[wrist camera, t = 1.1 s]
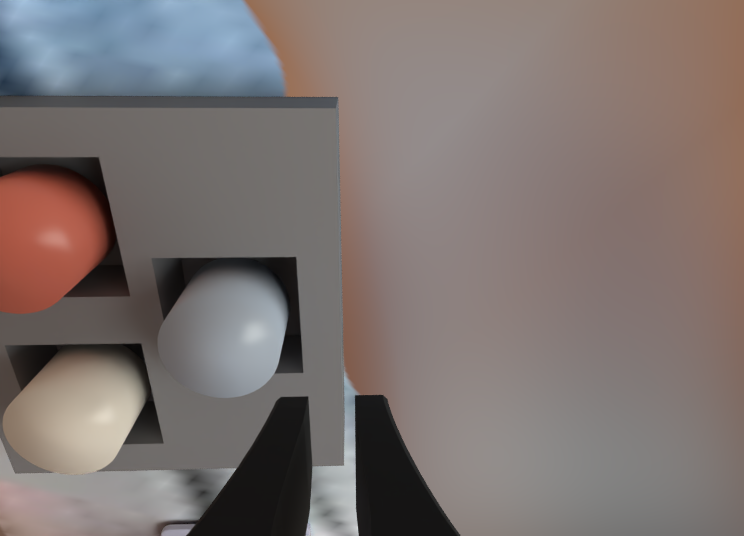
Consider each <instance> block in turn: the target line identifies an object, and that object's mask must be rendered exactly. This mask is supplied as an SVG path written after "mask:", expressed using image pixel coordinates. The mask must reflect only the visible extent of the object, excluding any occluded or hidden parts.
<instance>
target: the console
mask: <svg viewBox="0 0 744 536" xmlns="http://www.w3.org/2000/svg"><path fill="white" fill-rule="evenodd" d="M35 164H52V165H57V166H61V167H65V168H68V169H70V170H73V171H75V172H77V173H79V174H80V175H82V176H84V177H85V178H87V179H88V180H90V181H91V182H92V183H93V184H94V185H95V186H96V187H97V188H98V189H99V190H100V191H101V192H102V193H103V194H104V196H105V197H106V198H107V200H108V202H109V204H110V208H111V213H112V217H113V222H114V226H115V230H116V235H117V236H116V241H115V244H114V246H113V248H112V250H111V252H110V253H109V255H108V256H107V257H106V258H105V259H104V260H103V261H102V262H101V263H99V264H98V265H97V266H96V267H95V268H94V269H93V270H92V271H91V272H90V273H88V274H87V275H86V276H85V277H84V278H83V279H82V280H81V281H80V282H79V283H78V284H76V285H75V286H74V287H73V288H72V289H71V290H70V291H69V292H68V293H67V294H65V295H64V296H63V297H62V298H61V299H60V300H59V301H58V302H57V303H55V304H54V305H52V306H51V307H49V308H47V309H44V310H41V311H38V312H34V313H26V314H13V313H6V312H1V311H0V438H1V440H2V442H3V445H4V447H5V450H6V452H7V455H8V457H9V460H10V462H11V464H12V467H13V469H14V472H15V473H55V472H51V471H48V470H45V469H42V468H40V467H38V466H36V465H34V464H32V463H30V462H29V461H27V460H25V459H24V458H23V457H21V456H20V455H19V454H18V453H17V452H16V451H15V450H14V449H13V448H12V447H11V445H10V444H9V442H8V441H7V439H6V437H5V434H4V431H3V425H2V424H3V416H4V413H5V411H6V409H7V407H8V406H9V404H10V403H11V402H12V401H13V400H14V399H15V398H16V397H17V396H18V395H19V394H20V392H21V391H22V390H23V389H24V388H25V387H26V386H27V385H28V384H29V383H30V382H31V381H32V379H33V378H34V377H35V376H36V375H37V374H38V373H39V372H40V371H41V370H42V369H43V367H44V366H45V365H46V364H47V363H48V362H49V361H50V360H51V359H52V358H53V357H54V356H55V354H56V353H57V352H58V351H59V350H60V349H61V348H62V347H64V346H65V345H67V344H121V345H123V346H125V347H127V348H129V349H130V350H132V351H133V352H134V353H136V354H137V355H138V356H139V357H140V358H141V359H142V360H143V362H144V363H145V365H146V367H147V371H148V376H149V380H150V385H151V393H150V396H149V398H148V400H147V401H146V403H145V405H144V407H143V409H142V410H141V412H140V414H139V416H138V418H137V419H136V421H135V423H134V425H133V427H132V428H131V430H130V432H129V434H128V436H127V437H126V439H125V441H124V443H123V445H122V446H121V448H120V450H119V452H118V454H117V455H116V457H115V458H114V460H113V461H112V462H111V463H110V464H108V465H107V466H106V467H104V468H102V469H100V470H98V471H137V470H178V469H219V468H237V467H238V466H239V464H240V463H241V461H242V460H243V458H244V457H245V455H246V454H247V452H248V450H249V449H250V447H251V446H252V444H253V443H254V441H255V439H256V438H257V436H258V434H259V433H260V431H261V429H262V427H263V426H264V424H265V422H266V420H267V418H268V416H269V415H270V413H271V411H272V409H273V407H274V405H275V402H276V401H277V400H278V399H279V398H280V397H300V396H308V398H309V415H310V432H311V450H312V466H342V465H344V419H345V416H344V366H343V315H342V265H341V217H340V216H341V215H340V164H339V113H338V97H176V96H0V177H2V176H4V175H7V174H9V173H11V172H14V171H16V170H19V169H21V168H24V167H27V166H30V165H35ZM230 257H243V258H248V259H252V260H255V261H257V262H260V263H262V264H263V265H265V266H267V267H268V268H270V269H271V270H272V271H274V272H275V273H276V274H277V275H278V276H279V278H280V279H281V280H282V282H283V283H284V285H285V287H286V289H287V291H288V294H289V298H290V313H289V318H288V322H287V327H286V331H285V336H284V340H283V345H282V349H281V354H280V359H279V363H278V366H277V369H276V371H275V373H274V374H273V376H272V377H271V379H270V380H269V381H268V382H267V383H266V384H265V385H263V386H262V387H261V388H259V389H258V390H256V391H254V392H252V393H249V394H247V395H243V396H239V397H233V398H217V397H210V396H206V395H202V394H199V393H197V392H194V391H192V390H190V389H188V388H186V387H185V386H183V385H182V384H180V383H179V382H178V381H177V380H175V379H174V378H173V377H172V376H171V375H170V373H169V372H168V371H167V370H166V368H165V366H164V365H163V363H162V361H161V359H160V355H159V352H158V345H157V344H158V334H159V330H160V328H161V325H162V324H163V322H164V320H165V319H166V317H167V315H168V314H169V312H170V311H171V309H172V308H173V306H174V305H175V303H176V302H177V300H178V299H179V297H180V295H181V294H182V292H183V291H184V289H185V288H186V286H187V285H188V283H189V282H190V280H191V279H192V277H193V276H194V274H195V273H196V272H197V271H198V270H199V269H200V268H201V267H202V266H204V265H205V264H207V263H209V262H211V261H213V260H216V259H219V258H230ZM95 472H96V471H95Z"/></svg>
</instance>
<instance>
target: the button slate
mask: <svg viewBox="0 0 744 536" xmlns="http://www.w3.org/2000/svg"><path fill="white" fill-rule="evenodd" d="M289 313H290V298H289V294H288V291H287V289H286V287H285V285H284V283H283V282H282V280H281V279H280V278H279V276H278V275H277V274H276V273H275V272H274V271H272V270H271V269H270V268H268V267H267V266H265V265H263V264H262V263H260V262H257V261H255V260H252V259H248V258H243V257H230V258H219V259H216V260H213V261H211V262H209V263H207V264H205V265H204V266H202V267H201V268H200V269H199V270H198V271H197V272H196V273H195V274H194V276H193V277H192V279H191V280H190V282H189V283H188V285H187V286H186V288H185V289H184V291H183V292H182V294H181V295H180V297H179V299H178V300H177V302H176V303H175V305H174V306H173V308H172V309H171V311H170V312H169V314H168V315H167V317H166V319H165V320H164V322H163V324H162V325H161V328H160V330H159V334H158V344H157V345H158V352H159V355H160V359H161V361H162V363H163V365H164V366H165V368H166V370H167V371H168V372H169V373H170V375H171V376H172V377H173V378H174V379H175V380H177V381H178V382H179V383H180V384H182V385H183V386H185V387H186V388H188V389H190V390H192V391H194V392H197V393H199V394H202V395H206V396H210V397H217V398H233V397H239V396H243V395H247V394H249V393H252V392H254V391H256V390H258V389H259V388H261V387H262V386H263V385H265V384H266V383H267V382H268V381H269V380H270V379H271V377H272V376H273V374H274V373H275V371H276V369H277V366H278V363H279V359H280V354H281V349H282V345H283V340H284V336H285V331H286V327H287V322H288V318H289Z"/></svg>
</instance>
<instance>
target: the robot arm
mask: <svg viewBox="0 0 744 536" xmlns="http://www.w3.org/2000/svg"><path fill="white" fill-rule="evenodd" d="M355 437H356V512H357V522H358V531H359V536H460V534H459V533H458V532H457V530H456V529H455V528H454V526H453V525H452V523H451V522H450V520H449V519H448V517H447V516H446V514H445V513H444V511H443V510H442V508H441V507H440V506H439V504H438V502H437V501H436V499H435V497H434V496H433V494H432V492H431V491H430V489H429V488H428V486H427V484H426V482H425V481H424V479H423V477H422V476H421V474H420V472H419V470H418V468H417V467H416V465H415V463H414V461H413V459H412V457H411V456H410V453H409V452H408V450H407V448H406V446H405V444H404V441H403V439H402V438H401V435H400V433H399V430H398V429H397V426H396V424H395V421H394V419H393V416H392V414H391V410H390V407H389V404H388V400H387V398H385V397H384V396H383V395H355ZM311 480H312V450H311V432H310V415H309V398H308V396H300V397H280V398H279V399H278V400H277V401H276V402H275V405H274V407H273V409H272V411H271V413H270V415H269V416H268V418H267V420H266V422H265V424H264V426H263V427H262V429H261V431H260V433H259V434H258V436H257V438H256V439H255V441H254V443H253V444H252V446H251V447H250V449H249V450H248V452H247V454H246V455H245V457H244V458H243V460H242V461H241V463H240V464H239V466H238V467H237V469H236V470H235V472H234V473H233V475H232V476H231V478H230V479H229V480H228V482H227V483H226V485H225V486H224V487H223V489H222V490H221V491H220V493H219V494H218V496H217V497H216V498H215V500H214V501H213V502H212V504H211V505H210V507H209V508H208V509H207V510H206V512H205V513H204V514H203V515H202V517H201V518H200V519H199V521H198V522H197V523H196V524H173V525H167V526H165V527H164V528H163V530H162V532H161V536H311V531H310V525H309V524H308V518H309V511H310V497H311Z"/></svg>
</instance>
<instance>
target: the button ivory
mask: <svg viewBox="0 0 744 536" xmlns="http://www.w3.org/2000/svg"><path fill="white" fill-rule="evenodd" d="M150 393H151V385H150V380H149V376H148V371H147V367H146V365H145V363H144V362H143V360H142V359H141V358H140V357H139V356H138V355H137V354H136V353H134V352H133V351H132V350H130V349H129V348H127V347H125V346H123V345H121V344H67V345H65V346H64V347H62V348H61V349H60V350H59V351H58V352H57V353H56V354H55V356H54V357H53V358H52V359H51V360H50V361H49V362H48V363H47V364H46V365H45V366H44V367H43V369H42V370H41V371H40V372H39V373H38V374H37V375H36V376H35V377H34V378H33V379H32V381H31V382H30V383H29V384H28V385H27V386H26V387H25V388H24V389H23V390H22V391H21V392H20V394H19V395H18V396H17V397H16V398H15V399H14V400H13V401H12V402H11V403H10V404H9V406H8V407H7V409H6V411H5V413H4V416H3V424H2V425H3V431H4V434H5V437H6V439H7V441H8V442H9V444H10V445H11V447H12V448H13V449H14V450H15V451H16V452H17V453H18V454H19V455H20V456H21V457H23V458H24V459H25V460H27V461H29V462H30V463H32V464H34V465H36V466H38V467H40V468H42V469H45V470H48V471H51V472H55V473H60V474H68V475H79V474H87V473H92V472H95V471H98V470H100V469H102V468H104V467H106V466H107V465H108V464H110V463H111V462H112V461H113V460H114V458H115V457H116V455H117V454H118V452H119V450H120V448H121V446H122V445H123V443H124V441H125V439H126V437H127V436H128V434H129V432H130V430H131V428H132V427H133V425H134V423H135V421H136V419H137V418H138V416H139V414H140V412H141V410H142V409H143V407H144V405H145V403H146V401H147V400H148V398H149V396H150Z"/></svg>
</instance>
